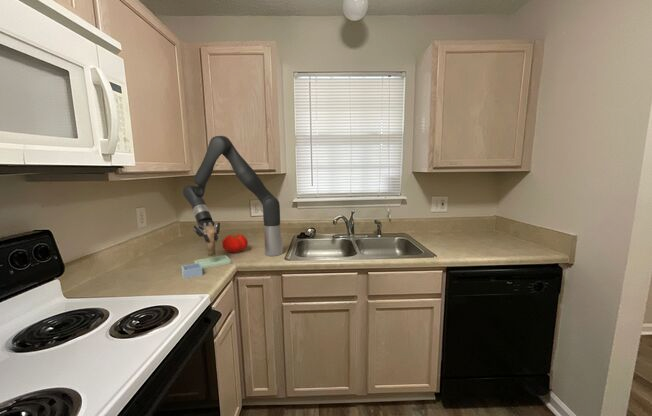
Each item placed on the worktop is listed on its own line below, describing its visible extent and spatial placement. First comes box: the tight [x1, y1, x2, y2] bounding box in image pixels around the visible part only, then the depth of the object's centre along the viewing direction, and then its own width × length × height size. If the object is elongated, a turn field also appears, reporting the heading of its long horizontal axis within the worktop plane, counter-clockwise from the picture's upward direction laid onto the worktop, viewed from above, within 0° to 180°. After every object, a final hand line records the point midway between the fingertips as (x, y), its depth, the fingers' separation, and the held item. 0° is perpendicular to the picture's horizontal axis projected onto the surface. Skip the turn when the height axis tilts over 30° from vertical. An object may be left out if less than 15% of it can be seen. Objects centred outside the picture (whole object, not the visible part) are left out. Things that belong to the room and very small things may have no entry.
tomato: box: [221, 233, 249, 254], centre depth 165 cm, size 14×16×10 cm
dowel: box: [206, 225, 217, 257], centre depth 140 cm, size 4×4×15 cm
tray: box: [193, 254, 232, 270], centre depth 142 cm, size 16×12×2 cm
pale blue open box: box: [180, 263, 204, 280], centre depth 127 cm, size 8×8×4 cm
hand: (212, 240), depth 139 cm, fingers closed on dowel, 3 cm apart
